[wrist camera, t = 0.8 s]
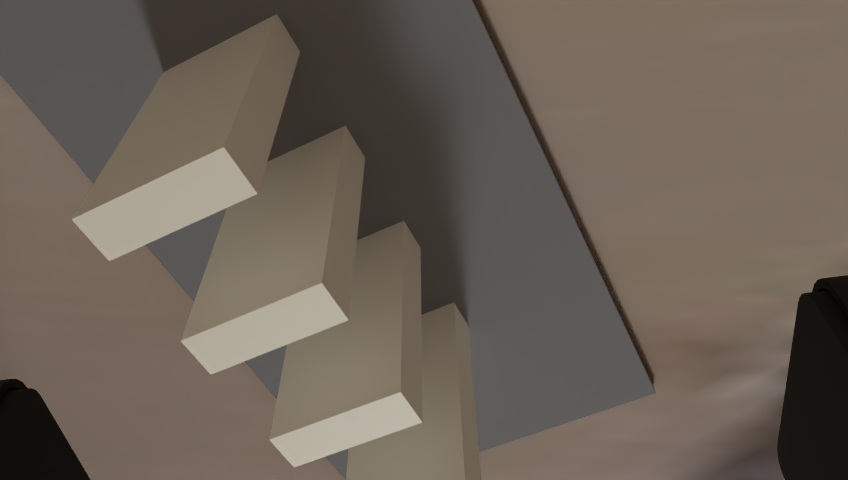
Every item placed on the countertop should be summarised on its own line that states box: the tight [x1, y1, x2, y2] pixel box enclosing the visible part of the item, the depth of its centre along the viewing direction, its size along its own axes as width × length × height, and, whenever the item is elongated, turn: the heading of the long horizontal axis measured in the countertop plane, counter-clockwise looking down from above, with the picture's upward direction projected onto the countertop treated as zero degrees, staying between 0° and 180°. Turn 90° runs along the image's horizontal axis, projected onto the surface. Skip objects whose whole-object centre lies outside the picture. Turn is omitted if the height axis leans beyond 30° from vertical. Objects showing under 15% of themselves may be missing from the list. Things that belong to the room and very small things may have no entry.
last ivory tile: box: [72, 14, 300, 261], centre depth 26 cm, size 5×2×10 cm, turn 116°
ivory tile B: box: [269, 221, 423, 467], centre depth 31 cm, size 5×2×10 cm, turn 116°
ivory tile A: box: [346, 302, 481, 480], centre depth 34 cm, size 5×2×10 cm, turn 116°
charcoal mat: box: [0, 0, 656, 479], centre depth 34 cm, size 17×33×1 cm, turn 26°
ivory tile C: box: [181, 126, 365, 374], centre depth 29 cm, size 5×2×10 cm, turn 116°
